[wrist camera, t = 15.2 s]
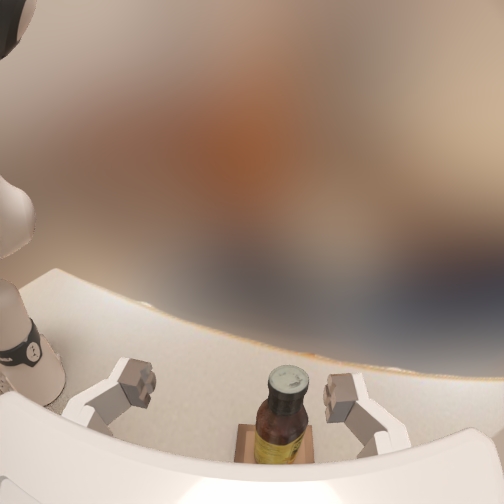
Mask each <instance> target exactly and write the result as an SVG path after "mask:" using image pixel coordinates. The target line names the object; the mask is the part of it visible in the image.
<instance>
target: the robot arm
mask: <svg viewBox="0 0 504 504" xmlns="http://www.w3.org/2000/svg"><path fill="white" fill-rule="evenodd" d="M36 2H37V0H0V60H1V59H3V58H4V57H6V56H7V55H8V54H9V53H10V52H11V51H12V50H13V49H14V48H15V47H16V45H17V44H18V43H19V41H20V39H21V37H22V35H23V34H24V32H25V30H26V29H27V27H28V25H29V23H30V21H31V19H32V17H33V14H34V11H35V7H36ZM35 223H36V217H35V210H34V207H33V204H32V202H31V200H30V198H29V197H28V195H27V194H26V193H25V192H24V191H22V190H21V189H19V188H17V187H14V186H12V185H11V184H9V183H8V182H7V181H5V180H4V179H3V178H2V177H1V175H0V259H2V258H4V257H6V256H8V255H11V254H12V253H14V252H16V251H17V250H19V249H20V248H22V247H23V246H24V245H26V244H27V243H29V242H30V241H31V239H32V236H33V234H34V230H35ZM151 370H152V365H151V363H149V362H144V361H140V360H135V359H131V358H126V357H121V358H120V359H119V360H118V362H117V364H116V365H115V367H114V369H113V371H112V372H111V374H110V376H109V378H108V379H104V380H102V381H101V382H99V383H97V384H95V385H93V386H92V387H90V388H88V389H86V390H85V391H83V392H81V393H79V394H77V395H76V396H74V397H72V398H71V399H70V401H69V402H68V404H67V406H66V407H65V409H64V411H63V413H62V414H61V416H60V415H58V414H56V413H54V412H52V411H50V410H48V409H46V408H44V407H43V406H45V405H47V404H49V403H51V402H52V401H53V400H55V399H56V398H57V397H58V396H59V394H60V393H61V391H62V390H63V387H64V385H65V378H66V377H65V372H64V369H63V367H62V365H61V356H60V355H59V354H58V353H55V352H53V350H52V348H51V347H50V345H49V344H48V342H47V340H46V339H45V337H44V336H43V335H42V334H39V332H38V330H37V327H36V325H35V324H34V322H33V320H32V319H31V318H30V317H29V315H28V313H27V311H26V308H25V306H24V303H23V301H22V298H21V296H20V293H19V291H18V289H17V288H16V286H15V285H14V284H12V283H11V282H9V281H7V280H5V279H0V390H1V391H2V392H3V393H4V394H1V395H0V504H504V474H503V470H502V467H501V463H500V459H499V456H498V453H497V450H496V447H495V444H494V442H493V441H492V439H491V438H490V437H488V436H487V435H485V434H484V433H482V432H481V431H479V430H477V429H475V428H473V427H469V428H465V429H463V430H460V431H458V432H455V433H453V434H450V435H448V436H445V437H442V438H439V439H436V440H433V441H430V442H427V443H424V444H420V445H417V446H413V447H411V443H410V440H409V437H408V433H407V430H406V427H405V425H404V424H402V423H401V422H400V421H399V420H397V419H396V418H395V417H394V416H392V415H391V414H390V413H389V412H388V411H386V410H385V409H384V408H383V407H382V406H380V405H379V404H378V403H377V402H376V401H374V400H373V399H370V398H369V395H368V391H367V388H366V385H365V381H364V378H363V375H362V373H346V374H331V375H329V376H328V379H327V382H328V384H327V385H325V388H324V394H323V400H324V405H325V406H326V407H327V408H326V411H325V415H326V422H327V423H340V422H344V423H345V425H346V426H347V427H348V428H349V429H350V430H351V432H352V433H353V434H354V435H355V436H356V437H357V438H358V440H359V441H360V442H361V443H362V444H363V445H364V446H365V447H364V448H363V449H362V451H361V452H360V453H359V454H358V455H357V459H351V460H344V461H335V462H325V463H312V464H248V463H235V462H224V461H216V460H208V459H201V458H195V457H189V456H184V455H178V454H173V453H169V452H164V451H160V450H156V449H152V448H148V447H144V446H140V445H137V444H133V443H130V442H127V441H124V440H121V439H117V438H114V437H112V436H113V434H112V432H111V431H110V429H109V428H108V427H107V425H109V424H110V423H111V422H112V421H114V420H115V419H116V418H117V417H119V416H120V415H121V414H122V413H124V412H125V411H126V410H127V409H129V408H130V407H131V405H132V406H136V407H141V408H146V409H147V407H148V404H149V402H150V399H151V397H150V395H149V394H151V393H152V392H154V389H155V386H156V377H155V374H154V373H153V372H152V371H151Z"/></svg>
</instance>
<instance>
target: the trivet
mask: <svg viewBox="0 0 504 504" xmlns="http://www.w3.org/2000/svg"><path fill="white" fill-rule="evenodd" d="M254 443H255V425H247V424H239V425H238V434H237V443H236V451H235V459H234V462H235V463H248V464H257V462H256V460H255V456H254ZM312 463H314V449H313V436H312V425H307V428H306V431H305V434H304V437H303V440H302V443H301V445H300V448H299V451H298V453H297V456H296V459H295V460H294V462H293V463H292V464H312Z"/></svg>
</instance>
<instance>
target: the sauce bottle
mask: <svg viewBox="0 0 504 504" xmlns="http://www.w3.org/2000/svg"><path fill="white" fill-rule="evenodd" d="M308 384H309V377H308V375H307V373H306V372H305V371H304V370H302V369H300V368H299V367H296V366H292V365H283V366H280V367H277V368H276V369H274V370H273V371H272V372H271V373H270V375H269V380H268V388H269V396H268V399H266V400H265V401H264V402H263V403H262V404H261V406H260V407H259V409H258V412H257V417H256V420H257V421H256V424H255V443H254V456H255V460H256V462H257V464H292V463H293V462H294V460H295V459H296V456H297V453H298V451H299V448H300V445H301V443H302V440H303V437H304V434H305V431H306V428H307V425H308V415H307V413H306V410H305V408H304V405H303V398H304V395H305V394H306V392H307V390H308Z"/></svg>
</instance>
